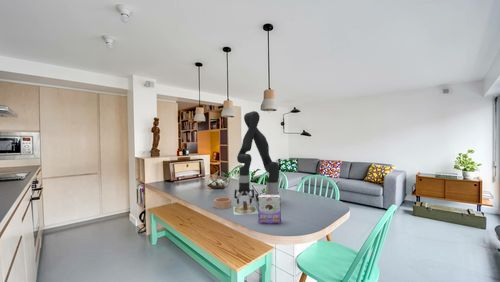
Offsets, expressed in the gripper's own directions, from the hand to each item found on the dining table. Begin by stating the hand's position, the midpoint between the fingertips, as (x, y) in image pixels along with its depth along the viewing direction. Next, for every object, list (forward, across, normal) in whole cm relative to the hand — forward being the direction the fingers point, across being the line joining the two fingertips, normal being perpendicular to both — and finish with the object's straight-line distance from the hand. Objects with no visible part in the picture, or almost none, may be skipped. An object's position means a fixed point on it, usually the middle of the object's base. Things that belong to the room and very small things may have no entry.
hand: (244, 203), depth 155 cm
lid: (+4, -1, 0) cm, 4 cm away
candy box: (+5, -14, +23) cm, 27 cm away
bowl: (+5, +16, -10) cm, 19 cm away
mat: (+5, -1, 0) cm, 5 cm away
